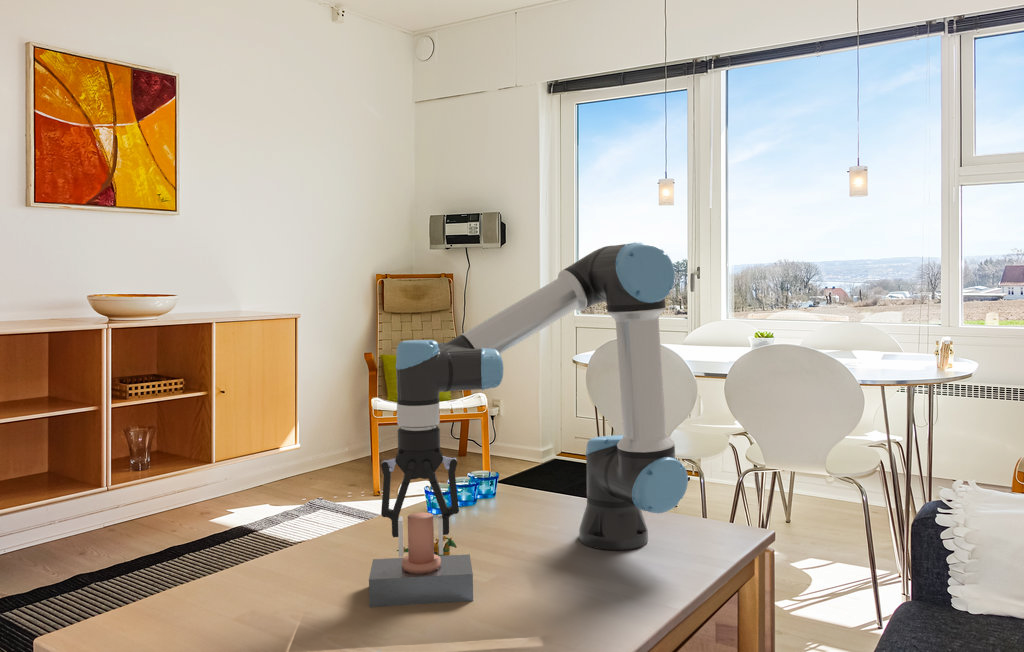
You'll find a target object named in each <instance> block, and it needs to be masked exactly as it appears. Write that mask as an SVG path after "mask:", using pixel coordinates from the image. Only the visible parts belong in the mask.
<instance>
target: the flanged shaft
mask: <svg viewBox="0 0 1024 652" xmlns="http://www.w3.org/2000/svg"><path fill="white" fill-rule="evenodd" d="M434 526H435V525H434V514H433V513H431V512H425V511H424V512H423V511H422V512H414V513H411V514H408V515H407V548H408V552H407V553H408V555H407V556H405V557H402V558H403V559H402V569H403V570H404V571H406V572H409V573H415V574H422V573H429V572H433V571H436V570H438V569H439V568H440V567H441V558H440V557H439V556H438V555H435V554H434V543H435V537H434V536H435V534H434V532H435V531H434V530H435V529H434Z"/></svg>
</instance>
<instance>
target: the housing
mask: <svg viewBox="0 0 1024 652" xmlns="http://www.w3.org/2000/svg"><path fill="white" fill-rule="evenodd" d="M439 557H440V558H441V567H440V568H439V569H438V570H436V571H433V572H429V573H422V574H415V573H409V572H406V571H404V570H403V569H402V559H403V558H404V557H392V558H391V557H390V558H374V559H372V562H371V568H370V571H369V577H368V598H369V602H368V603H369V608H374V607H375V608H377V607H394V606H408V605H409V606H411V605H424V604H425V605H427V604H428V605H429V604H444V603H459V602H460V603H461V602H463V603H464V602H474V573H473V567H472V560H471V555H470V553H469V554H451V555H447V556H439Z"/></svg>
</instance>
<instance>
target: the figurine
mask: <svg viewBox="0 0 1024 652" xmlns="http://www.w3.org/2000/svg"><path fill="white" fill-rule="evenodd" d="M446 540H447V541H446ZM435 541H436V542H435ZM443 542H445V543H444V544H443V555H439V538H438V537H437V538H435V539H434V554H435V555H438V556H447V555H452V553H451V548H454V549H457V547H458V546H457V544H456V543H455V541H454V540H453V537H452V536H450V538H449V537H448V536H446V535H443ZM403 547H404V552H403V554H404V553H408V547H407V548H405V546H403ZM396 552H399V549H396Z"/></svg>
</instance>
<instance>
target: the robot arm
mask: <svg viewBox="0 0 1024 652" xmlns="http://www.w3.org/2000/svg"><path fill="white" fill-rule="evenodd" d="M675 280H676V274H675V267H674V264H673V262H672V260H671V258H670V256H669V255H668V253H666V252H665V251H664V250H663V248H661V247H660V246H657V245H656V244H653V243H649V242H636V241H635V242H631V243H625V244H624V243H623V244H617V245H606V246H602V247H601V248H600V247H599V248H597V249H596V250H593V251H592V252H590V253H589V254H587V255H585V256H583V257H582V258H580V259H578V260H577V261H575V262H573V263H572V264H571V265H569V266H568V267H566V268H564V269H562V270H560V271H559V272H558V274H557V278H556V279H554V280H552V281H550V282H549V283H548V284H546V285H544V286H542V287H541V288H539V289H537V290H535V291H534V292H532V293H530V294H528V295H527V296H525V297H523V298H522V299H520V300H518V301H517V302H515V303H513V304H511V305H510V306H508V307H506V308H504V309H502V310H501V311H499V312H498V313H496V314H494V315H492V316H491V317H489V318H487V319H485V320H484V321H482V322H480V323H479V324H476V325H475V326H473V327H471V328H470V329H468V330H466V331H465V332H463V333H462V334H460V335H458V336H456V337H454V338H451V339H450V340H448V341H447V342H441V343H438V342H437V341H436V340H434V339H409V340H403V341H400V342H399V343H398V344H397V346H396V355H395V357H396V358H395V359H396V360H395V361H396V362H395V369H396V370H395V371H396V372H395V374H396V393H397V394H396V395H397V396H396V397H397V403H396V414H397V415H396V417H397V419H396V421H397V425H398V427H399V428H398V429H397V453H396V456H395V457H394V458H389V459H382V462H381V465H380V468H381V470H382V474H383V482H382V484H383V485H382V496H381V508H380V509H381V512H380V513H381V517H383V518H388V519H390V521H391V536H392V538H398V540H397V541H398V550H399V551H398V558H404V553H405V552H404V547H405V546H404V516H402V515H401V516H400V514H401V510H402V507H403V504H404V500H405V498H406V494H407V493H408V492H407V491H408V489H409V485H410V483H411V480H417V479H424V480H428V481H429V484H430V486H431V489H432V491H433V494H434V497H435V500H436V502H437V504H438V508H439V510H440V512H441V514H438V515H437V517H438V524H437V525H438V526H437V527H438V528H437V529H438V539H439V542H438V545H439V555H443V548H444V541H443V536H446V535H449V533H450V518H451V516H453V515H457V514H459V512H460V507H459V499H458V490H457V489H458V488H457V482H456V471H457V470H456V469H457V466H458V460H457V457H456V456H452V457H449V456H445V455H443V453H442V451H441V429H440V427H439V426H438V425H440V422H441V421H440V418H441V417H440V416H441V415H440V393H442V392H443V393H444V392H445V393H446V392H457V391H476V390H477V391H478V390H481V391H484V390H487V389H488V390H489V389H494V388H497V387H499V386H500V384H501V383H502V380H503V378H504V361H503V358H502V355H501V354H503V353H505V352H506V351H508V350H510V349H511V348H513V347H515V346H516V345H518V344H520V343H522V342H523V341H524V340H526V339H529V338H530V337H531V336H533V335H534V334H537V333H538V332H540V331H542V330H543V329H545V328H547V327H548V326H550V325H551V324H554V323H555V322H557V321H559V320H561V319H562V318H564V317H565V316H567V315H569V314H570V313H572V312H573V311H581V312H582V311H584V310H586V309H588V308H590V307H591V306H594V305H596V304H600V303H605V302H606V311H607V314H608V315H609V316H610V317H611V318H612V319H614V321H615V331H616V343H617V344H616V345H617V346H616V347H617V361H618V372H619V376H618V377H619V388H620V402H621V403H620V404H621V413H622V415H621V416H622V429H623V431H622V432H623V435H622V434H620V435H618V434H617V435H602V436H595V437H592V438H590V439H588V441H587V443H586V450H585V451H586V452H585V457H586V458H585V459H586V462H585V463H586V507H585V509H584V513H583V515H582V516H583V517H582V519H581V522H580V526H579V531H578V532H579V533H578V534H579V535H578V538H579V541H580V542H581V543H583V544H584V545H585V546H588V547H591V548H595V549H600V550H607V551H608V550H609V551H610V550H611V551H627V550H633V549H637V548H641V547H643V546H645V545H646V544H647V543H648V542H649V530H648V527H647V524H646V521H645V517H644V515H643V512H644V511H645V512H648V513H652V514H663V513H667V512H669V511H671V510H672V509H674V508H675V507H676V506H677V505H679V502H680V501H681V500H682V499H683V498H684V496H685V495H686V491H687V489H688V484H689V477H688V471H687V469H686V467H685V466H684V464H683V463H682V462H681V461H680V460H679V459H676V449H675V448H676V446H675V445H676V444H675V441H674V440H673V439H672V438H671V437H669V435H668V434H667V425H666V412H665V411H666V409H665V393H664V382H663V381H664V379H663V366H662V365H663V364H662V352H661V351H662V350H661V336H660V322H659V321H660V319H659V318H660V316H662V314H663V312H664V311H665V310H666V298H667V296H669V295H670V291H671V290H672V289H673V288H674V284H675ZM442 463H443V464H444V468H445V469H446V470H447V475H448V484H449V493H450V500H451V501H450V503H451V505H450V506H448V504H447V502H446V499H445V497H444V495H443V492H442V489H441V485H440V484H439V481H438V477H437V474H436V471H437V470H438V469H439V467H440V466H441V464H442ZM396 465H397V466H398V467H399V469H400V470H401V471H402V473H403V477H402V481H401V484H400V487H399V490H398V493H397V495H396V496H397V497H396V500H395V503H394V506H393V509H392V508H390V498H391V482H392V472H394V470H395V466H396ZM403 552H404V553H403Z"/></svg>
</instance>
